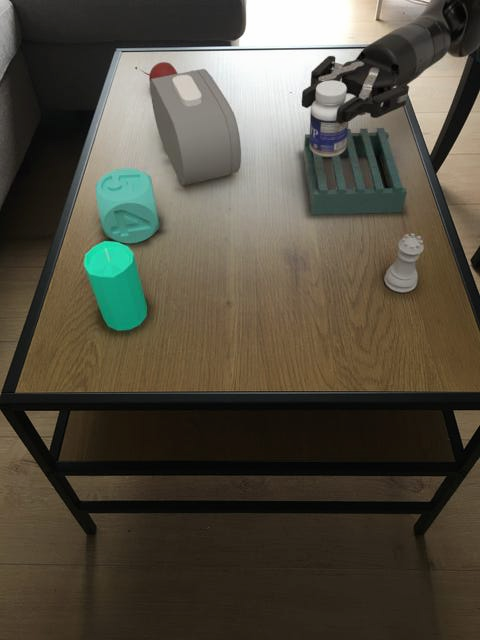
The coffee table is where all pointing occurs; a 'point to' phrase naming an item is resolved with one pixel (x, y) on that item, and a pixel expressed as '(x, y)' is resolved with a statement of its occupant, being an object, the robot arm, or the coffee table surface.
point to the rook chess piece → (405, 265)
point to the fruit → (161, 70)
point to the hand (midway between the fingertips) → (321, 108)
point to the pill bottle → (328, 120)
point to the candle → (116, 285)
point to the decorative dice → (127, 205)
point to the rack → (356, 178)
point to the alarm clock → (196, 126)
